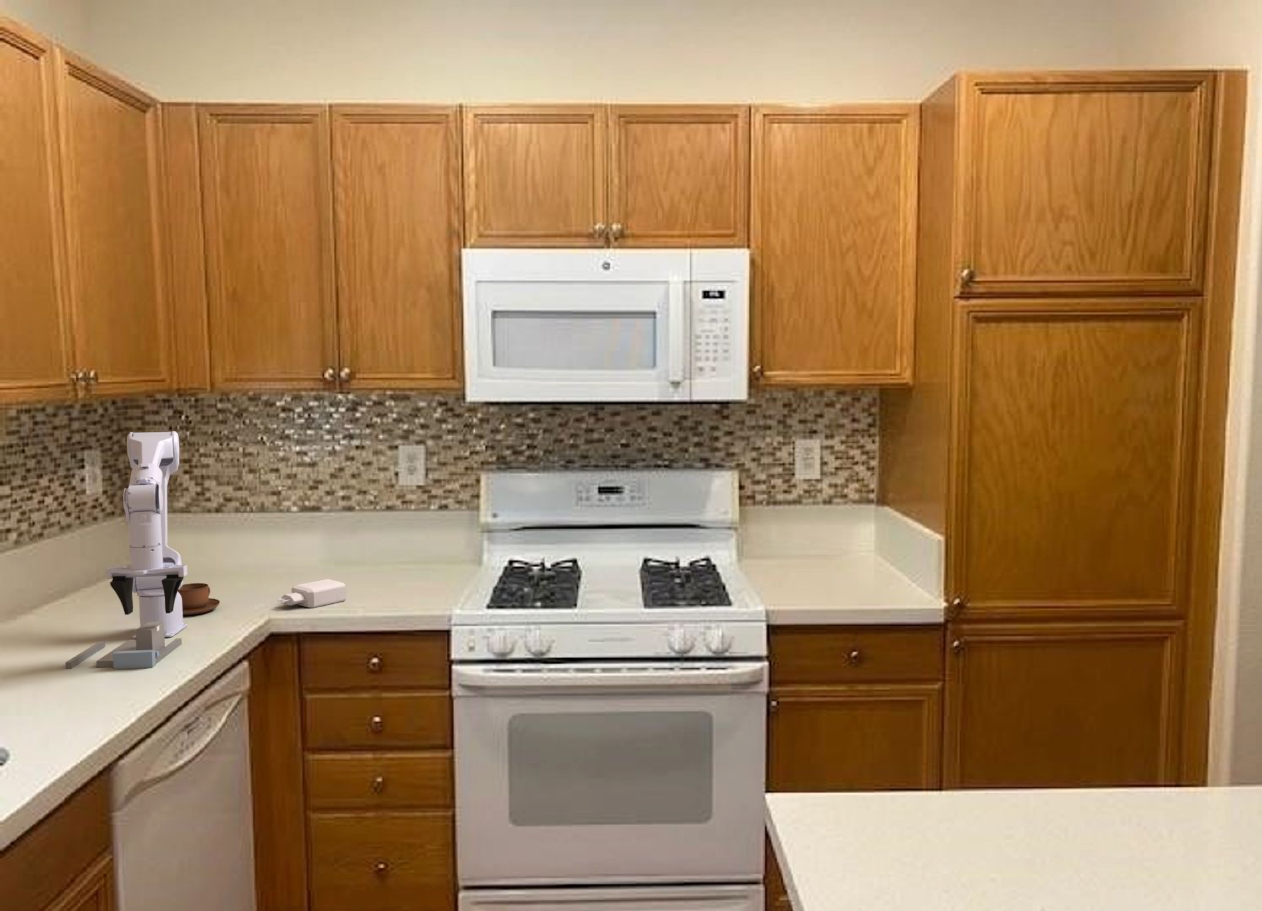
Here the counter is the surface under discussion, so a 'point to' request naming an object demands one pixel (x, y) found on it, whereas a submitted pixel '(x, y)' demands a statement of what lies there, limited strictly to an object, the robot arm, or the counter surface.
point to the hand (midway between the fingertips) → (149, 612)
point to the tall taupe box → (150, 636)
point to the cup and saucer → (196, 598)
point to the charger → (316, 593)
